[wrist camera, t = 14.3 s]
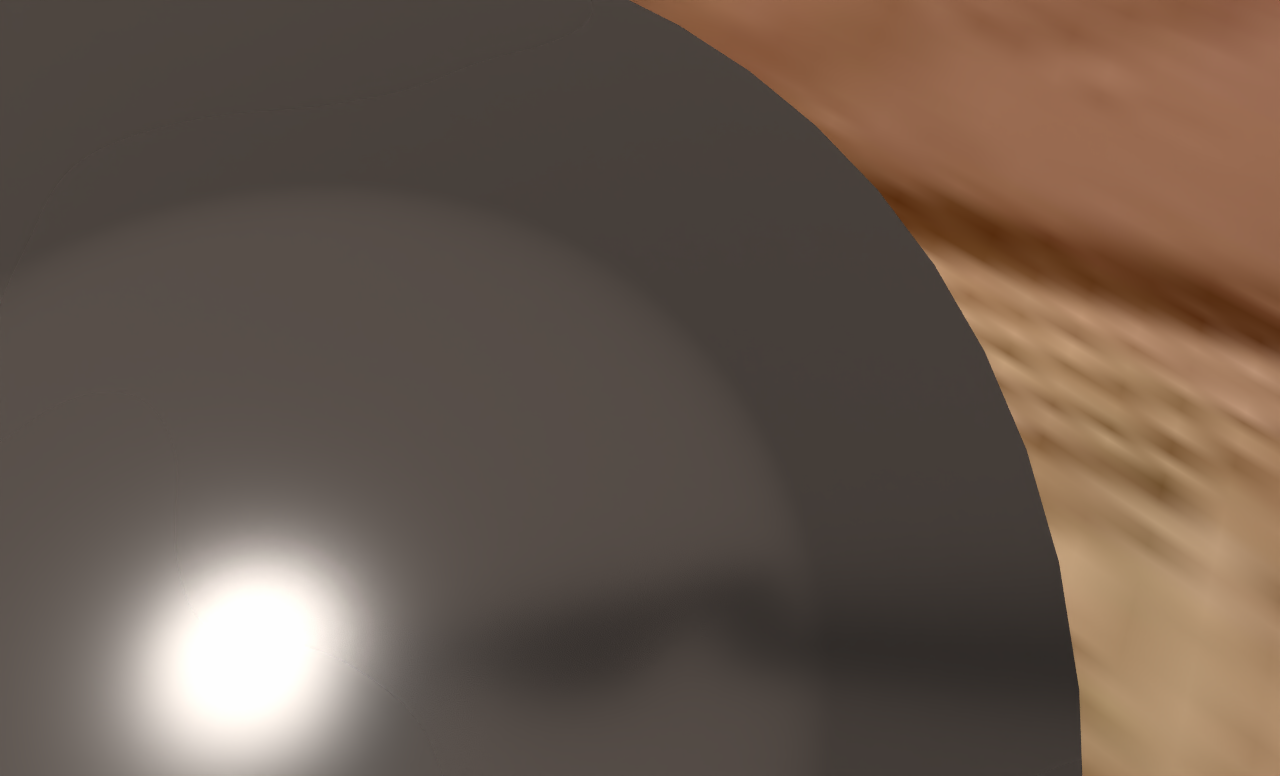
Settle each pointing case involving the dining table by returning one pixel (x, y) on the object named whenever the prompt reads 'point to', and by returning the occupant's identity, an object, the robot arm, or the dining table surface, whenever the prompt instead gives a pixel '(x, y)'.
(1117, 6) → the dining table surface
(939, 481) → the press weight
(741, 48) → the dining table surface
